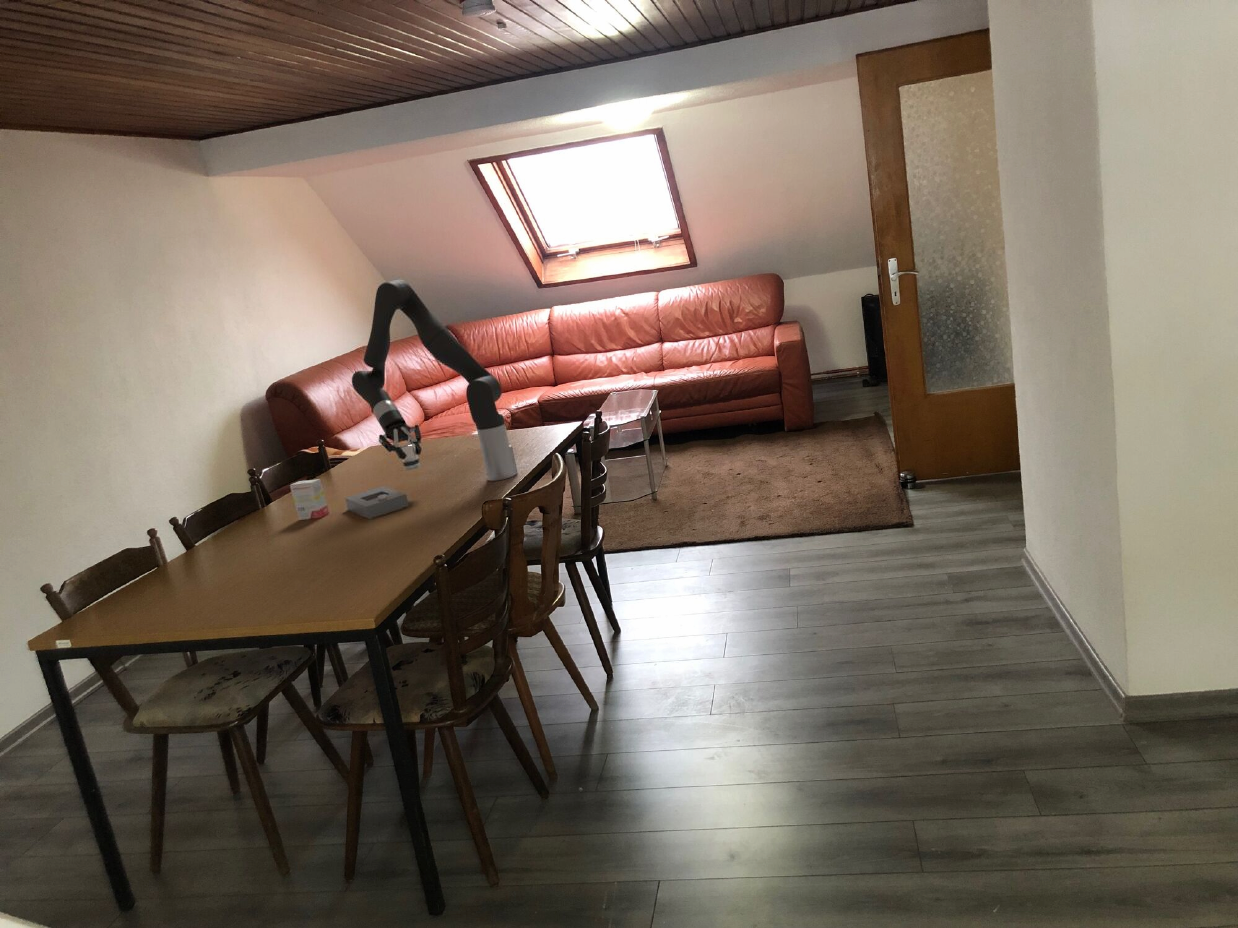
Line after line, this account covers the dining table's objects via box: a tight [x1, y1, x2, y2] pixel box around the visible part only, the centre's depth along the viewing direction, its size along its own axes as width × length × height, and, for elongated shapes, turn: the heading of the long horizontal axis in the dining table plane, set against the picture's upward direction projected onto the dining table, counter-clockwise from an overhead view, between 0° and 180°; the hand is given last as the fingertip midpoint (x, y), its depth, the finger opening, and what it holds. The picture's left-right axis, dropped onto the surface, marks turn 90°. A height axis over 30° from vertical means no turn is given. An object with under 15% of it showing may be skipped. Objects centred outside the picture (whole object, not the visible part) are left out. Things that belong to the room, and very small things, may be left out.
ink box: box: [289, 478, 330, 521], centre depth 303 cm, size 9×5×12 cm, turn 74°
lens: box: [399, 443, 421, 471], centre depth 305 cm, size 5×5×8 cm
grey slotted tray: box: [344, 485, 410, 520], centre depth 300 cm, size 13×20×5 cm, turn 35°
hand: (411, 455), depth 303 cm, fingers closed on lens, 5 cm apart
